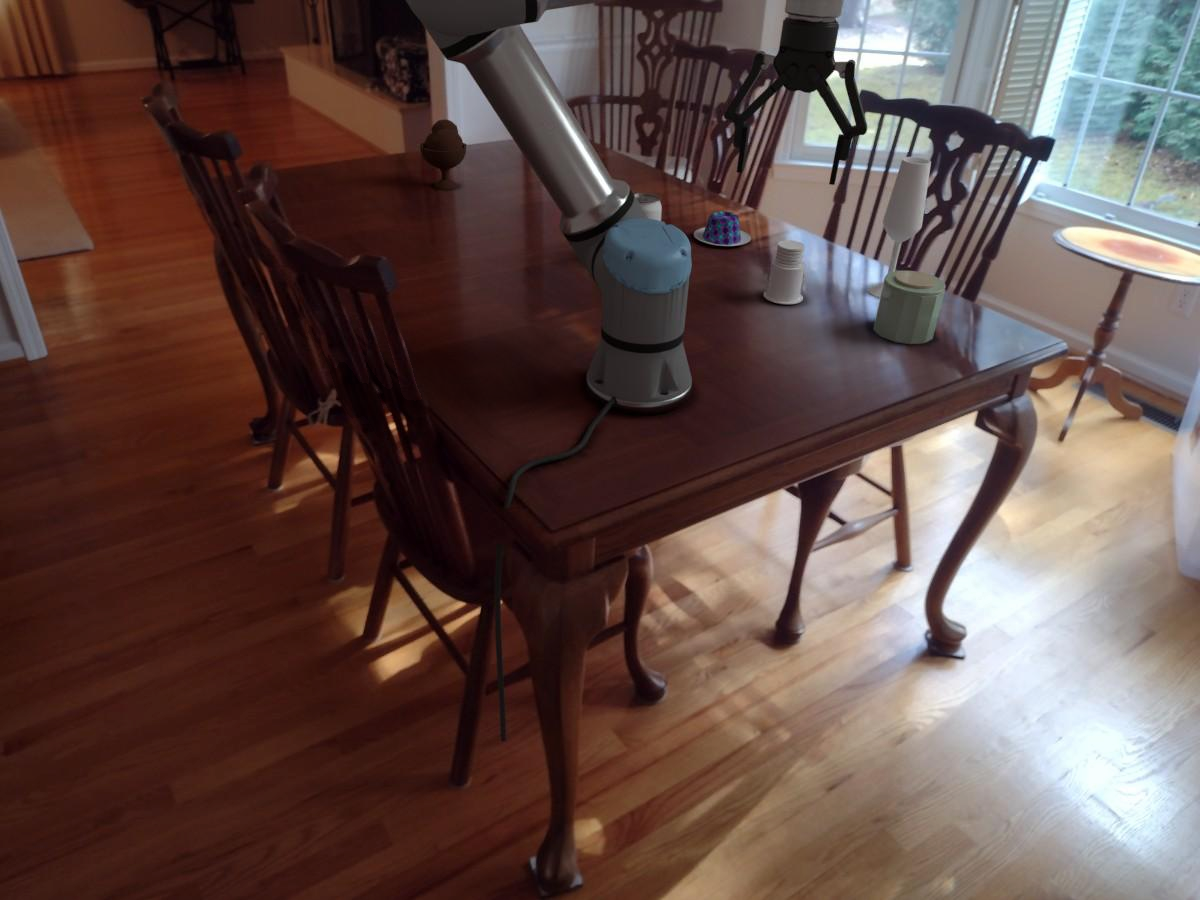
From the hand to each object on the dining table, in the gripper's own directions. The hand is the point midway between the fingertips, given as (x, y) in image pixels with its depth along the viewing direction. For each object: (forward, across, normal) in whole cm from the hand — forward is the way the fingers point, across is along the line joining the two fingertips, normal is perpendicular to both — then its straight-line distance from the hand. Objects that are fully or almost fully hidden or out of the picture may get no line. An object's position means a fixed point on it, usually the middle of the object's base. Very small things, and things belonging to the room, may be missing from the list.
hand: (785, 176), depth 129 cm
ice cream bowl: (+27, +83, -57) cm, 104 cm away
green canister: (+26, -23, -11) cm, 36 cm away
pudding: (+26, +14, -45) cm, 54 cm away
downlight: (+26, -2, -18) cm, 32 cm away
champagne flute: (+26, -20, -28) cm, 43 cm away
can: (+26, +27, -28) cm, 47 cm away
